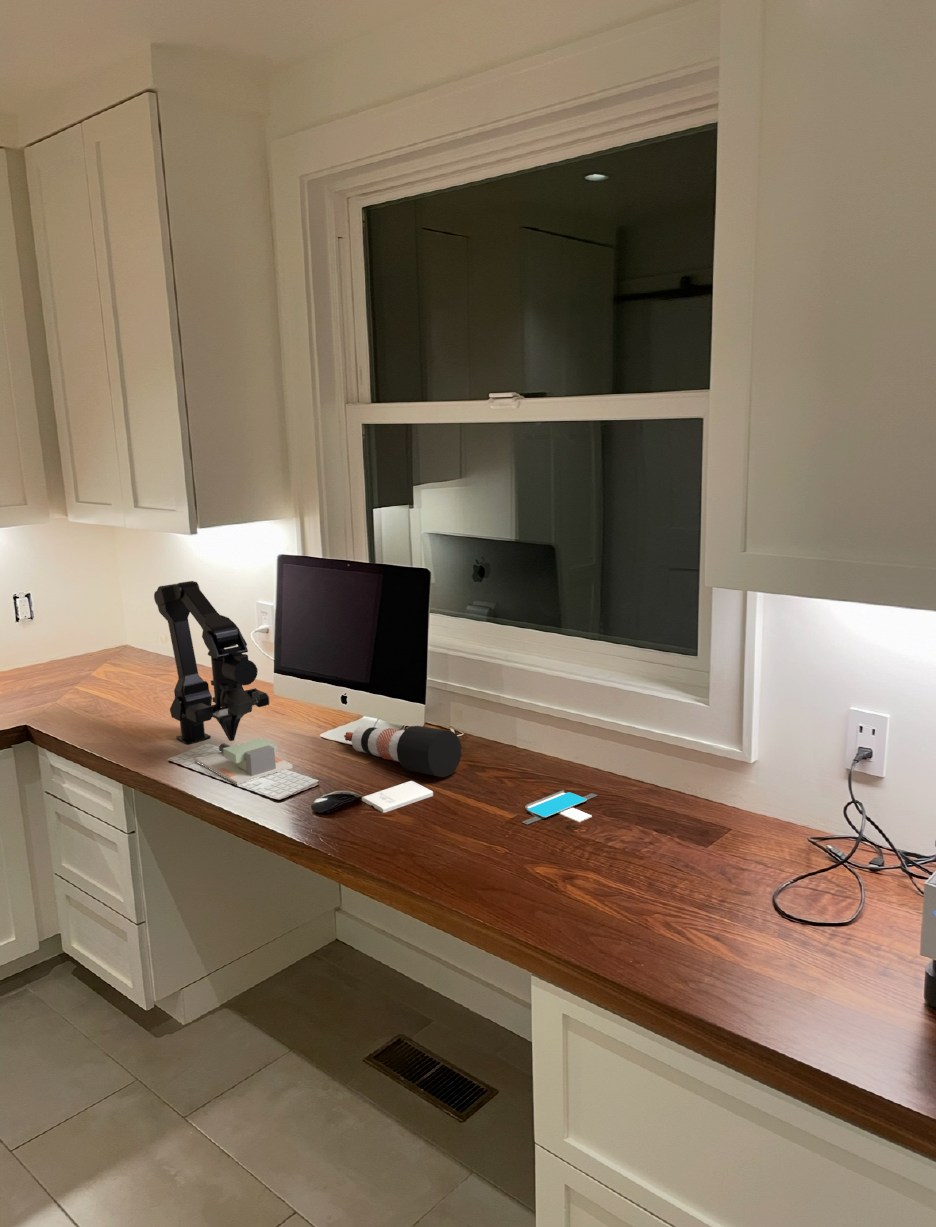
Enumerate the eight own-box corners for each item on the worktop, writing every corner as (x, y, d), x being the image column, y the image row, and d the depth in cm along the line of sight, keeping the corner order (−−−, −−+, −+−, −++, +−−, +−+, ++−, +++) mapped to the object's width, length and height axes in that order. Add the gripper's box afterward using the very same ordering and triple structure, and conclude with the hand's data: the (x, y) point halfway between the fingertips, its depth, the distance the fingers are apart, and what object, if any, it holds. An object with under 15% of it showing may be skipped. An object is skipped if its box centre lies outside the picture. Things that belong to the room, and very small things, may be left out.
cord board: (196, 762, 217) (193, 738, 216) (249, 746, 226) (247, 724, 225) (237, 785, 203) (234, 760, 202) (292, 767, 212) (290, 743, 211)
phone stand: (548, 837, 174) (548, 829, 174) (506, 818, 183) (506, 810, 183) (619, 807, 186) (619, 799, 186) (576, 790, 195) (576, 782, 195)
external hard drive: (433, 798, 194) (383, 815, 186) (410, 787, 200) (361, 803, 193) (433, 791, 193) (383, 808, 186) (410, 780, 200) (361, 795, 192)
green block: (224, 767, 211) (222, 748, 210) (263, 755, 217) (262, 737, 216) (237, 774, 206) (235, 754, 205) (276, 761, 213) (275, 743, 212)
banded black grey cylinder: (358, 760, 227) (368, 720, 229) (455, 780, 203) (465, 735, 205) (326, 752, 220) (336, 711, 222) (423, 772, 197) (434, 725, 199)
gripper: (204, 692, 202) (210, 759, 205) (279, 674, 214) (284, 738, 217) (181, 682, 210) (188, 747, 214) (255, 666, 222) (260, 727, 226)
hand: (231, 740), depth 217 cm, fingers closed
